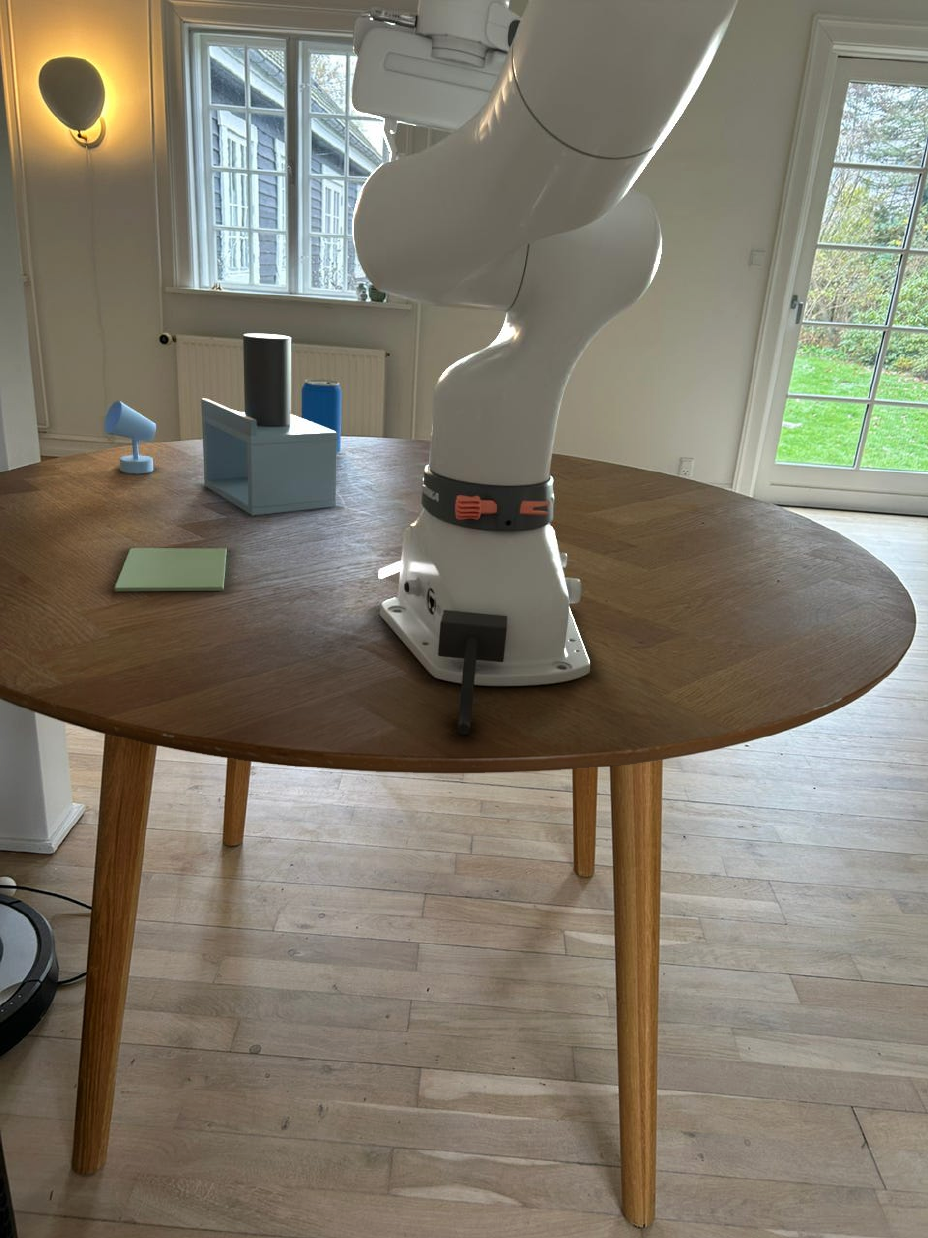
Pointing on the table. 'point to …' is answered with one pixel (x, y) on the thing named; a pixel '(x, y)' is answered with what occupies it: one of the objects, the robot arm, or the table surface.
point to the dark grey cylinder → (267, 379)
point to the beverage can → (323, 404)
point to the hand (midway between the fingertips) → (440, 180)
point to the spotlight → (130, 435)
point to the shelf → (268, 462)
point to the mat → (173, 569)
